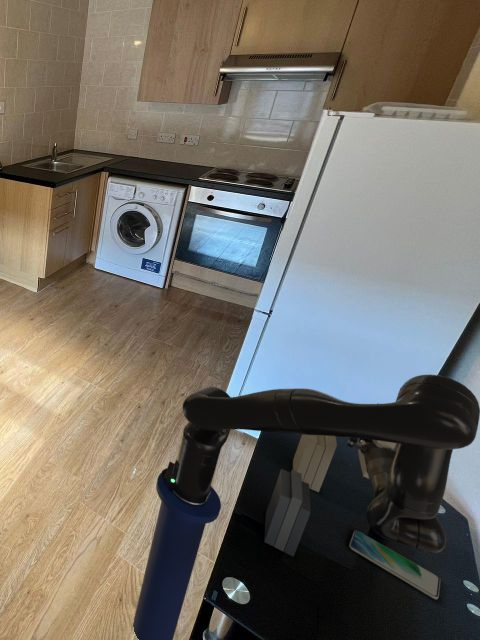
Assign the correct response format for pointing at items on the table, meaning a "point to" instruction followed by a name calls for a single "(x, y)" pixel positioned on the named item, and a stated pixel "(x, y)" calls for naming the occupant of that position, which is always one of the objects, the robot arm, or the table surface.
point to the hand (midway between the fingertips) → (377, 432)
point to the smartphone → (396, 564)
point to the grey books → (287, 512)
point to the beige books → (314, 458)
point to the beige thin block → (361, 455)
